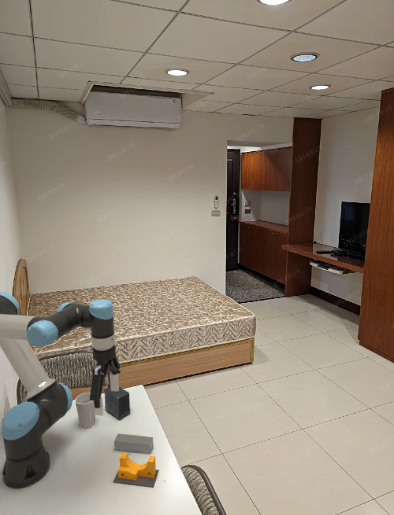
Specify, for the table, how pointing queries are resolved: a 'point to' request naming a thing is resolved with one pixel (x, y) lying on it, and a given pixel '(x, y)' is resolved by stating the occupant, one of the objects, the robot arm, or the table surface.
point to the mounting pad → (137, 481)
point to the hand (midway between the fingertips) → (107, 402)
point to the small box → (117, 402)
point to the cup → (85, 410)
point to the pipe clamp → (136, 468)
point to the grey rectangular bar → (133, 443)
